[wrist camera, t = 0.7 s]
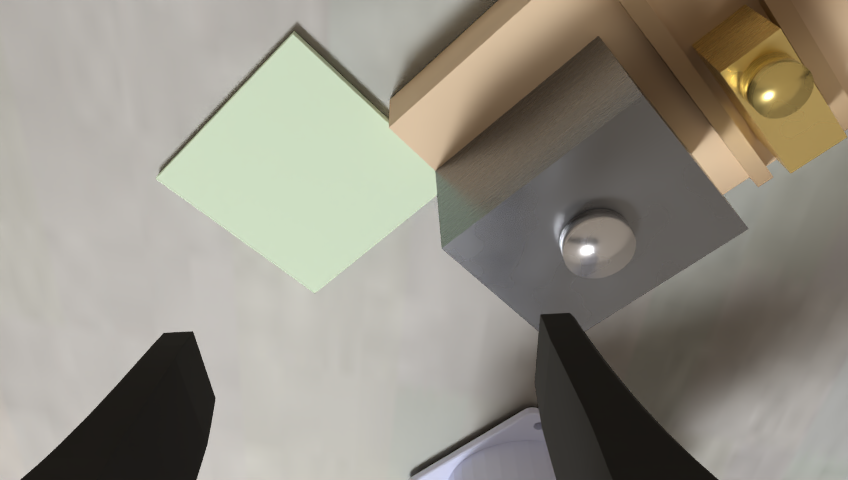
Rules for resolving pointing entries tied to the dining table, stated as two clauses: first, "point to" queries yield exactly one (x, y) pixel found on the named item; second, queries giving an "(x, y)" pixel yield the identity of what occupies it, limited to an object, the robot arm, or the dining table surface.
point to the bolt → (770, 87)
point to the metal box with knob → (579, 197)
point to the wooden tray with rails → (639, 55)
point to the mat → (301, 168)
